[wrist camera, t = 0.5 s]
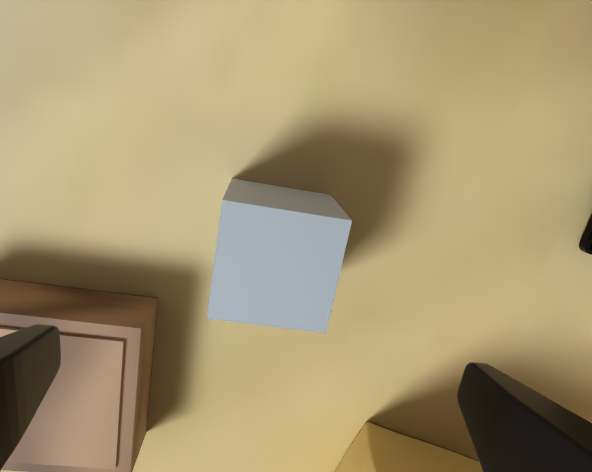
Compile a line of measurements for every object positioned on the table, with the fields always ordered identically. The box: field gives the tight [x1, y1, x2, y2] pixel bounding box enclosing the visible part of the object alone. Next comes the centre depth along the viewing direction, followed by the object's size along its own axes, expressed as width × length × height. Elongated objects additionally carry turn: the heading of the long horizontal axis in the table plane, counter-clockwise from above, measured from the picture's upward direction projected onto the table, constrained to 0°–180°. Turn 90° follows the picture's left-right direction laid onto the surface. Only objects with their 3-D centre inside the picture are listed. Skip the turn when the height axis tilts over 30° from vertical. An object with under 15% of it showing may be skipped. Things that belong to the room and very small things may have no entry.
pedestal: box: [0, 279, 158, 472], centre depth 20 cm, size 9×9×3 cm
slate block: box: [207, 178, 352, 333], centre depth 18 cm, size 5×5×5 cm
